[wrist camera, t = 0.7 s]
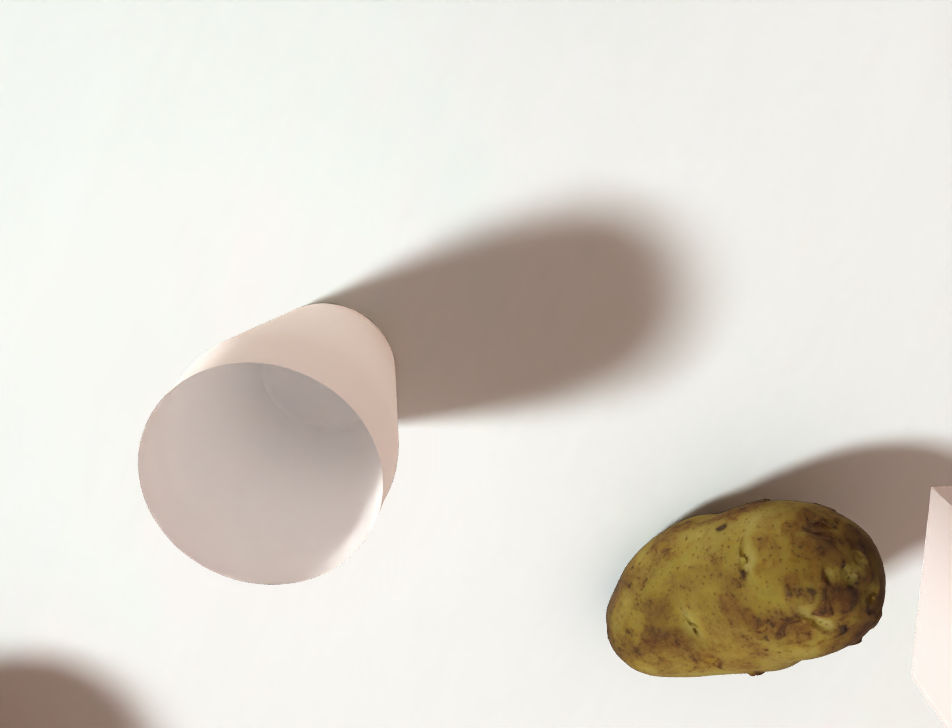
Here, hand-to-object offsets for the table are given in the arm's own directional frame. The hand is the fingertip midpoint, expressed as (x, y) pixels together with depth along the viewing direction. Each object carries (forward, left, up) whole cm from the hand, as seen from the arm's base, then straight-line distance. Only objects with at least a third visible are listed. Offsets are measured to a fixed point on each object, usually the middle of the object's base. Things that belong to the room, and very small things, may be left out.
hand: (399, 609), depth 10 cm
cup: (+1, -10, -29) cm, 31 cm away
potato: (+21, -1, -29) cm, 36 cm away
